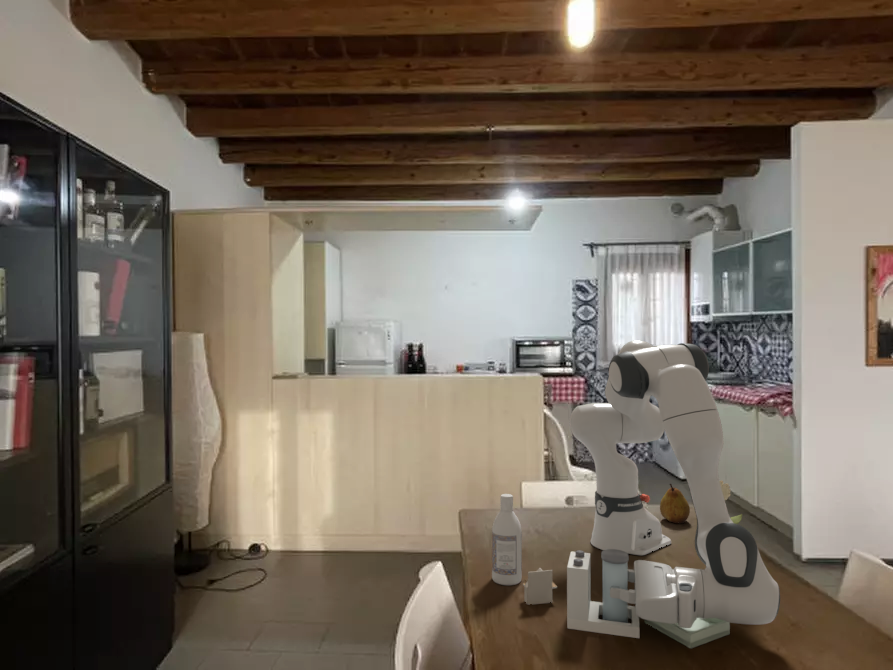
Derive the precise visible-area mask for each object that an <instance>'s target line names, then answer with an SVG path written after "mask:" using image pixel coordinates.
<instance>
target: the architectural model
mask: <svg viewBox="0 0 893 670" xmlns="http://www.w3.org/2000/svg"><path fill="white" fill-rule="evenodd" d="M522 585H523V587H524V589H523V590H524V591H523V592H524V597H523V598H524V601H523V602H526V603H525V604H526V605H529V606H530V604H532V605H539V604H552V603H553V590H554V589H558V586H557V585H556V583H555V582H554V581H553V569H547V570H543V569H542V568H541V567H538V569H536V571H528V572H527V578H525V579H524V582H523V583H522ZM550 602H551V603H550Z"/></svg>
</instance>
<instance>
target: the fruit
mask: <svg viewBox="0 0 893 670" xmlns="http://www.w3.org/2000/svg"><path fill="white" fill-rule="evenodd" d="M668 485H669V486H670V488H668V489H667V490H666V492H665V493H664V495H663V497H662V498H661V501H660V504H659V511H660V514H661V515H662V517H663V518H664V519H666V520H667V521H669V522H671V523H674V524H684V523H685V522H686V521H687V520H688V518H689V516H690V513H691V508H690V505H689V501H687V499H686V497H685V495H684V494H683V493H682V491H681V490H680V489H678V488H676V487H673V486H672V483H669V484H668Z"/></svg>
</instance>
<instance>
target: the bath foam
mask: <svg viewBox="0 0 893 670" xmlns="http://www.w3.org/2000/svg"><path fill="white" fill-rule="evenodd" d="M522 532H523V531H522V525H521V522H520V520H519V517H518V516H517V515H516V513H515V511H514V496H513V495H512V494H511V493H503V494H501V495H500V509H499V512H498V513H497V515H496V516H495V519H494V520H493V524H492V528H491V578H492V580H493V582H494V583H496V584H498V585H500V586H501V585H502V586H514V585H515V586H516V585H518V584H520V583H521V581H522V578H523V577H522V575H523V573H522V571H523V570H522V569H523V568H522V567H523V565H522V563H523V562H522V560H523V558H522V557H523V555H522V551H523V550H522V549H523V546H522V545H523V544H522V543H523V542H522V541H523V540H522V535H523V534H522Z"/></svg>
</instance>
